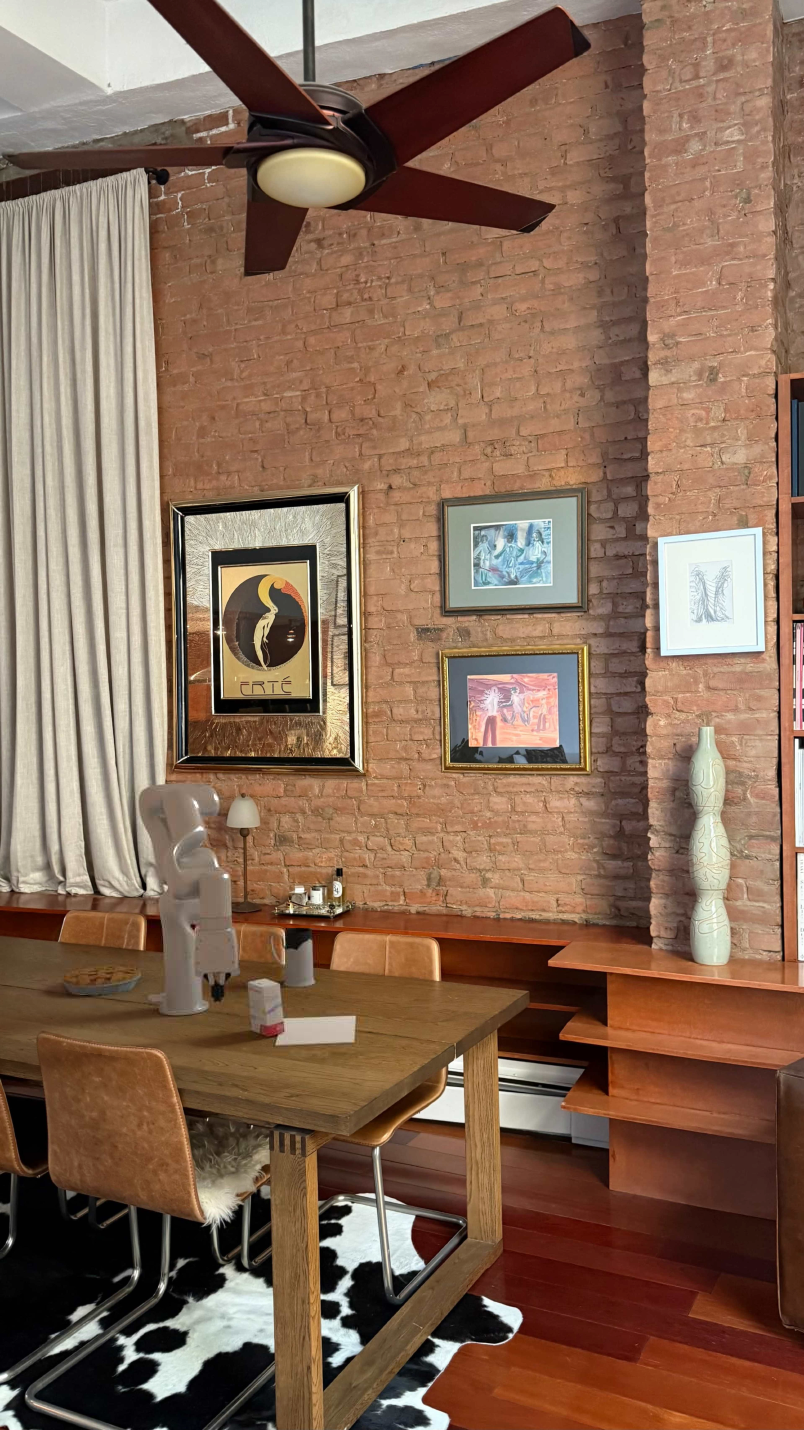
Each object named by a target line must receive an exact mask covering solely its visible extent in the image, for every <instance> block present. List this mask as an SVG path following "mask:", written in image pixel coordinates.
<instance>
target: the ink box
mask: <svg viewBox="0 0 804 1430" xmlns="http://www.w3.org/2000/svg"><path fill="white" fill-rule="evenodd" d="M247 990H248V992H247V993H248V1001H249V1013H250V1022H251V1023H250V1024H251V1031H252V1032H255V1033H257V1034H260V1035H262V1036H265V1037H268V1038H269V1037H272V1036H276V1035H278V1034H279V1033H282V1032H285V1029H284V1020H283V1018H284V1013H283V1006H282V1004H283V1003H282V995H281V983H278V982H276V981H272V980H270V979H267V978H261V979H257V980H252V981H248V982H247Z"/></svg>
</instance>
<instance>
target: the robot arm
mask: <svg viewBox="0 0 804 1430" xmlns="http://www.w3.org/2000/svg"><path fill="white" fill-rule="evenodd" d="M220 805H221V804H220V798H219V796H218V793H217V791H216V789H214V787H213V786H211V785H208V784H204V783H201V782H186V783H184V782H183V783H181V782H180V783H164V784H163V783H162V784H155V785H150V786H148V787H145V788H143V789H142V790H141V791H140V793H139V795H138V811H139V816H140V819H141V822H142V824H143V826H144V828H145V830H146V832H147V834H148V836H149V839H150V842H151V844H152V850H153V855H154V860H155V866H156V871H157V875H158V879H159V881H160V883H161V884H162V885H164V886H167V888H168V889H167V890H166V891H164V892H163V893H162V894H161V895H160V896H159V898H158V911H159V917H160V918H159V919H160V923H161V927H162V928H161V929H162V939H163V941H162V942H163V944H162V946H163V968H164V969H163V971H164V972H163V973H164V974H163V977H164V979H163V980H164V992H161V993H160V994H149V995H148V999H147V1001H148V1003H151V1005H152V1004H160V1005H159V1007H158V1010H159V1013H161V1014H162V1015H165V1016H166V1015H167V1016H189V1015H195V1014H199V1013H202V1012H204V1011H206V1010H208V1009H209V1007H210V1006H209V1005H210V1004H209V1002H208V1001H206V1000H204V999H203V979H205V981H206V982H208V984H209V985H210V992H211V993H210V997H211V998H212V999H213V1002H214V1003H217V1002H218V1003H221V1002H222V1000H223V998H225V997H226V996H225V995H226V992H225V991H226V989H225V988H226V987H225V983H226V982H227V981H228V980H229V979H230V978H232V977H235V976H239V975H240V973H241V969H240V966H239V964H240V958H239V957H240V956H239V953H240V952H239V944H238V938H237V937H238V936H237V931H236V929H235V927H233V918H232V915H233V914H232V885H231V882H232V881H231V879H232V878H231V875H230V873H229V872H228V871H226V870H224V869H223V867H220V864H219V861H218V856H217V855H216V854H215V852H214V851H213V850H212V849H210V848H208V847H201V845H203V843H204V842H205V841H206V839H207V837H208V836H207V835H208V834H207V830H206V827H205V824H204V821H203V819H209V818H210V819H211V818H214V817H216V816H217V815H218V814H219V812H220ZM191 925H194V926H198V927H199V928H198V929H197V930H196V931H195V930H194V929H193V928H192V927H191ZM216 974H220V975H219V981H218V980H217V978H216Z"/></svg>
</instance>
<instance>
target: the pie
mask: <svg viewBox="0 0 804 1430" xmlns="http://www.w3.org/2000/svg"><path fill="white" fill-rule="evenodd" d="M141 977H142V973H141V971H140V968H139V967H137V968H136V966H127V965H126V964H121V965H118V966H115V965H114V964H112V965H106V966H100V965H95V966H94V967H91V968H87V967H86V968H85V967H84V968H80V969H79V970H71V971H70V972H69V973H68V974H65V975H64V976H63V980H61V983H63V984H64V985H65V987H66V989H67V991H68V990H69V991H70V992H71V993H75V994H85V995H95V994H107V995H112V994H111V993H114V994H117V993H116V992H120V993H123V992H122V991H124V992H127V990H128V991H131V990H132V989H134V988H135V987H136V985H137V982H138V980H139V979H140V978H141ZM133 987H134V988H133ZM131 988H132V989H131ZM69 991H68V992H69ZM70 992H69V993H70ZM71 993H70V994H71Z"/></svg>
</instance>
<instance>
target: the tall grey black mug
mask: <svg viewBox="0 0 804 1430" xmlns="http://www.w3.org/2000/svg"><path fill="white" fill-rule="evenodd" d="M274 935H278V936H279V937H280V939H281V946H282V948H283V949H284V964H283V963H282V962H281V960H280V959H279V958H278V956H277V954H276V951H275V948H274V944H273V943H274V942H273V940H274V939H273V938H274ZM312 938H313V937H312V929H311V928H309V927H291V928H288V929H285V930H284V936H283V934H282V933H280V932H274V933H272V934H271V936H270V948H271V951H272V952H271V953H272V954H273V958H274V959H275V961H277V963H278V964H279V966H281V967H282V969H283V970H284V973H285V975H284V977H285V981H284V982H283V984H284V986H285V987H289V988H290V987H291V988H303V987H304V986H305V987H309V985H310V986H313V985H314V983H315V984H316V980H315V979H314V960H313V959H314V957H313V956H314V955H313V951H314V950H313V939H312ZM312 984H313V985H312Z"/></svg>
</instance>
